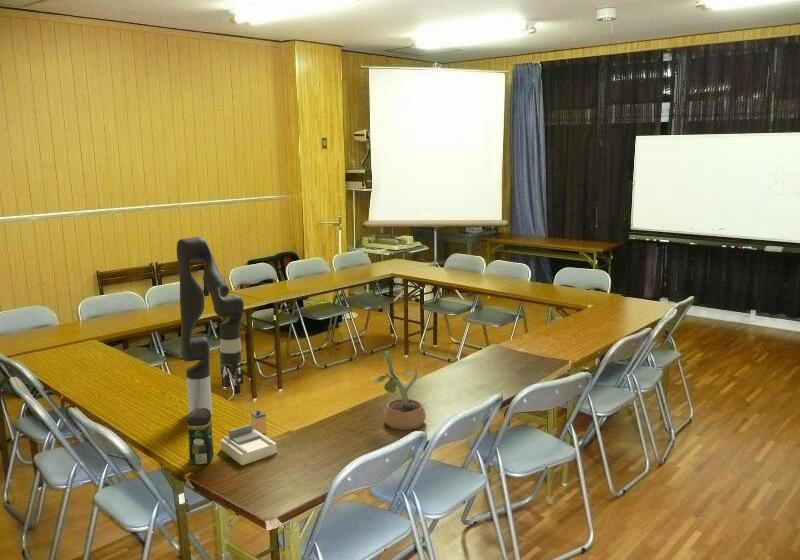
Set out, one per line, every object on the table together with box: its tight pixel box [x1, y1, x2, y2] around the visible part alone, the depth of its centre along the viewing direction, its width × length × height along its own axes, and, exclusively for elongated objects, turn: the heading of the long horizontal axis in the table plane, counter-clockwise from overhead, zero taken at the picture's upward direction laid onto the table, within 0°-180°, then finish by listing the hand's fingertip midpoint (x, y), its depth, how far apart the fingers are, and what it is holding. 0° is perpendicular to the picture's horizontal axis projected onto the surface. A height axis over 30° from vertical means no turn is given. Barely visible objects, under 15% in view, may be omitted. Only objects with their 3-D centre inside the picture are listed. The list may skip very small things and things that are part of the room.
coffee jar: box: [186, 408, 214, 466], centre depth 242 cm, size 10×8×19 cm
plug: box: [250, 409, 267, 434], centre depth 265 cm, size 4×4×9 cm
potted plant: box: [370, 350, 427, 431], centre depth 274 cm, size 22×18×30 cm
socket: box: [220, 429, 278, 466], centre depth 250 cm, size 16×14×5 cm
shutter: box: [228, 423, 260, 444], centre depth 251 cm, size 6×9×3 cm
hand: (232, 390), depth 255 cm, fingers open, 8 cm apart
